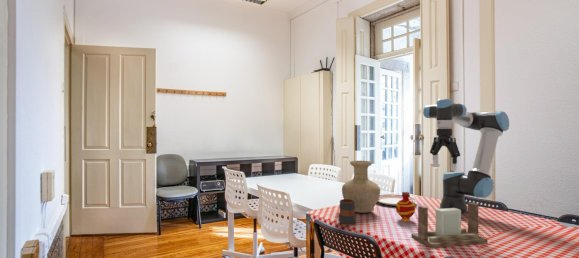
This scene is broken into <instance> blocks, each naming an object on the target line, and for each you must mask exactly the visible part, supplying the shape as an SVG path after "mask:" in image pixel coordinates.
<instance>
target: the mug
mask: <svg viewBox="0 0 579 258" xmlns="http://www.w3.org/2000/svg"><path fill="white" fill-rule="evenodd" d="M355 213H356V212H355V202H354V200H351V199H344V198H343V199H340V200H339V213H338V221H339V223H340V224H342V225H347V226H352V225H354V224H355V223H356V214H355Z"/></svg>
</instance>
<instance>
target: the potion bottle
mask: <svg viewBox="0 0 579 258" xmlns="http://www.w3.org/2000/svg"><path fill="white" fill-rule="evenodd" d="M400 195H401V196H402V197H403V199H402V200H400V201H398V203H397V204H396V206H395V211H396V213H397V214H398V215H399V217H400V221H402V222H411V220H412V219H411V218H412V217H413V216H414V214H415V213H416V209H417V208H416V204H415V203H413V202H412V201H410V199H408V197H411V195H410V192H409V191H402V192H401V194H400Z"/></svg>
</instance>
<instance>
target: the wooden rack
mask: <svg viewBox="0 0 579 258" xmlns="http://www.w3.org/2000/svg"><path fill="white" fill-rule="evenodd" d="M467 208H468V211H467V228H464V227H463V228H462V227H461V235H449V236H435V230H429V226H428V225H429V207H427V206H425V205H418V206H417V209H418V210H417V216H418V217H417V232H416V233H411V238H412V239H414V240H417V242H420V243H422V244H424V245H425V246H427V247H429V248H431V249H434V248H445V247H446V248H447V247H456V246H465V245H466V246H467V245H475V244H477V245H478V244H487V243H488V238H485V237H483V236H481V235H480V234H479V204H478V203H475V202H467Z"/></svg>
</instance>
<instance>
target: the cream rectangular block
mask: <svg viewBox="0 0 579 258" xmlns="http://www.w3.org/2000/svg"><path fill="white" fill-rule="evenodd" d="M434 228H435V236H449V235H461V228H462V213H461V210H460V209H457V208H444V209H440V208H435V227H434Z"/></svg>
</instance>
